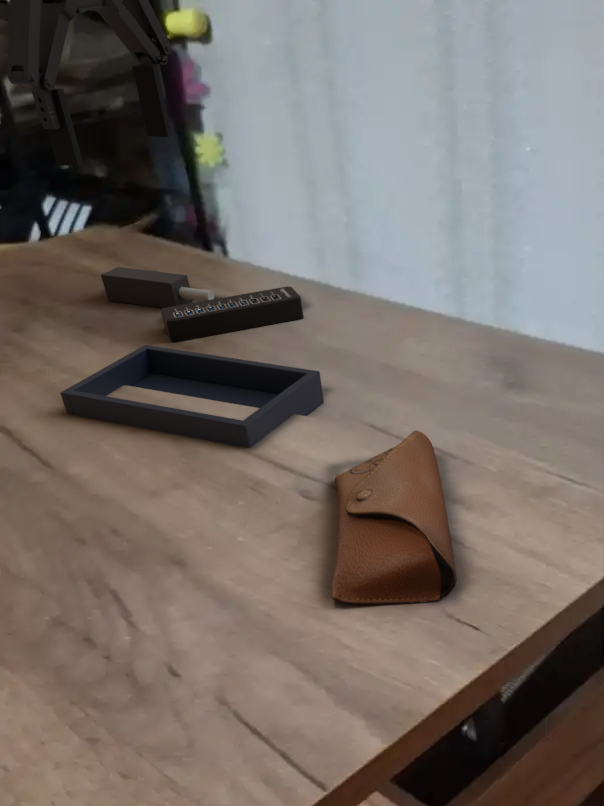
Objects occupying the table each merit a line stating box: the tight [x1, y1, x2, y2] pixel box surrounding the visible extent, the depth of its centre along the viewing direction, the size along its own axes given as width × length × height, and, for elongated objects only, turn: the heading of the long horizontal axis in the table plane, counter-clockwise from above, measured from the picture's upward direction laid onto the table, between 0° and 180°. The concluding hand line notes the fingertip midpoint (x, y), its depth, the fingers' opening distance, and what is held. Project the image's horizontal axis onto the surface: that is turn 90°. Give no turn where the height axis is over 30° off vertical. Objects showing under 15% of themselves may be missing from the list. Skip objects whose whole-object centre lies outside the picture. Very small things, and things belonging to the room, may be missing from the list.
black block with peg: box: [100, 266, 215, 309], centre depth 109 cm, size 14×3×3 cm, turn 66°
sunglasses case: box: [331, 430, 457, 606], centre depth 68 cm, size 18×7×7 cm
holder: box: [59, 344, 325, 449], centre depth 85 cm, size 20×12×3 cm, turn 66°
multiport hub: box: [160, 286, 304, 343], centre depth 103 cm, size 4×14×2 cm, turn 114°
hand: (117, 150), depth 98 cm, fingers open, 13 cm apart
